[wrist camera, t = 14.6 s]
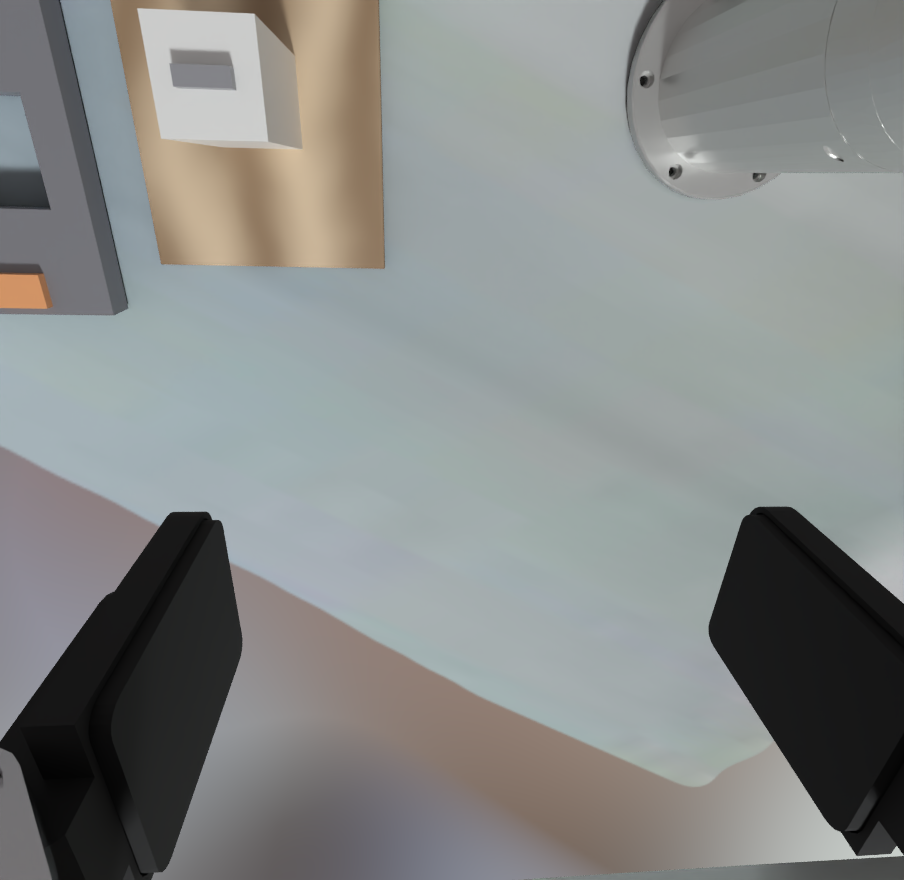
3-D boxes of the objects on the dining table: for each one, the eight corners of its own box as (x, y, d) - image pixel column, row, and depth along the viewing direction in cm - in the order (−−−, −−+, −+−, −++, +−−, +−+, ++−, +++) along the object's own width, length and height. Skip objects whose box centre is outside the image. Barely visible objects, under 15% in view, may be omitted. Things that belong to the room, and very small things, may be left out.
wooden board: (376, -91, 29) (376, -98, 28) (384, 266, 36) (384, 268, 36) (95, -111, 28) (87, -119, 27) (166, 262, 35) (161, 264, 35)
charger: (294, 55, 30) (250, 9, 22) (302, 149, 32) (265, 140, 24) (209, 52, 30) (130, 4, 22) (222, 147, 32) (155, 137, 24)
